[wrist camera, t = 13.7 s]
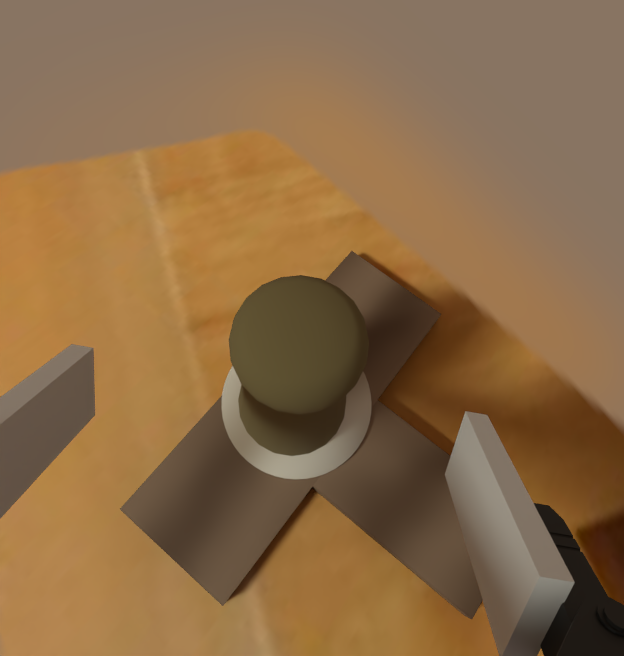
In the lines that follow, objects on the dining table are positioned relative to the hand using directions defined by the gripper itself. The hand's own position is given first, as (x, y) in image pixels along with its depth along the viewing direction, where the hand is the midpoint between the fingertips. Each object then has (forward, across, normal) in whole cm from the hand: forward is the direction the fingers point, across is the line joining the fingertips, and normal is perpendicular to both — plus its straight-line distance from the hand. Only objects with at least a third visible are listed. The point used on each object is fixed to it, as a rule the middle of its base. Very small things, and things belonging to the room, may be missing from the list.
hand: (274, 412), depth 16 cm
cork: (+9, 0, -5) cm, 10 cm away
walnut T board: (+8, +5, -7) cm, 12 cm away
